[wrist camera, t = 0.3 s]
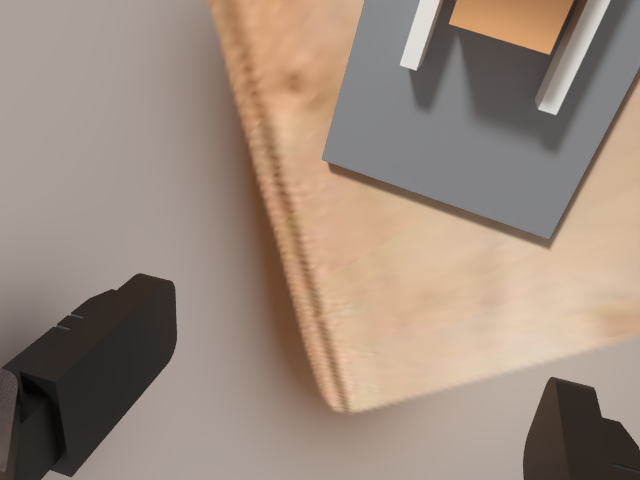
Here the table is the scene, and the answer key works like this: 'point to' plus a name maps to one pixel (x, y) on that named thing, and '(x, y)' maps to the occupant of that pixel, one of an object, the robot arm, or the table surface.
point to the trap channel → (482, 107)
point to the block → (514, 20)
